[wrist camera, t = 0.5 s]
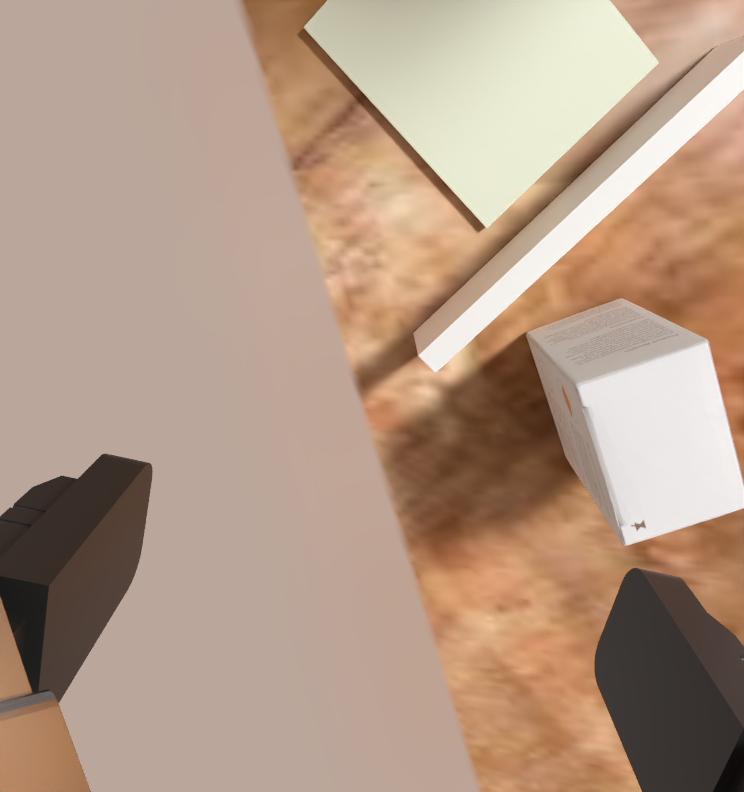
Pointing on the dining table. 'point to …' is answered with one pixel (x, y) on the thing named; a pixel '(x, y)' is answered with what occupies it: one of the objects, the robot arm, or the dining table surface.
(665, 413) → the small box
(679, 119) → the white wall
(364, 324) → the dining table surface
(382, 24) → the sage mat
